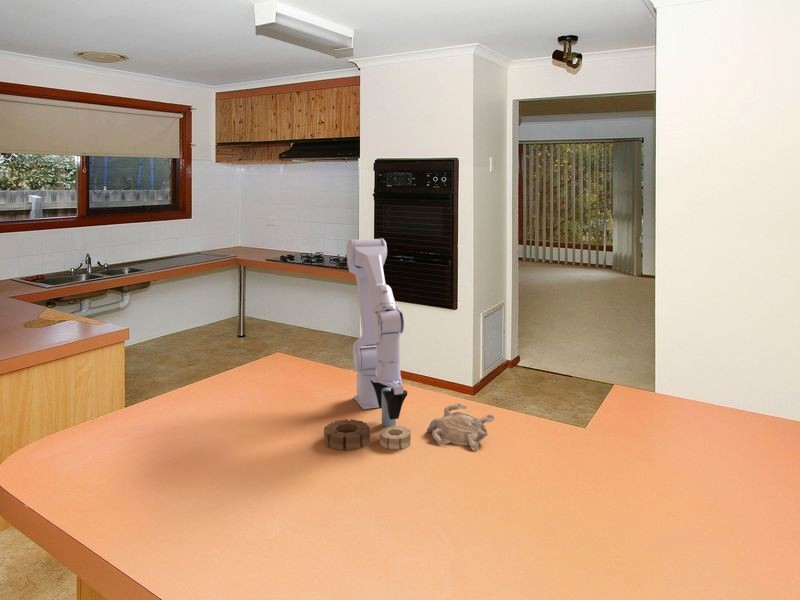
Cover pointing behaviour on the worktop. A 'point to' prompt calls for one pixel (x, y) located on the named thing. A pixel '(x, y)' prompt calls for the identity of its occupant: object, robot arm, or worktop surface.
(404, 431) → the beige notched ring
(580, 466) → the worktop surface
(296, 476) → the worktop surface
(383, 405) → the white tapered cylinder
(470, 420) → the turtle
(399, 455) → the worktop surface
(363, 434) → the brown segmented ring
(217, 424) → the worktop surface
